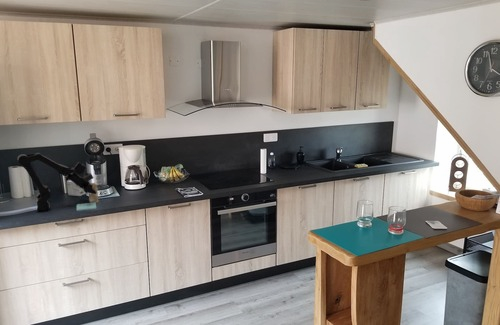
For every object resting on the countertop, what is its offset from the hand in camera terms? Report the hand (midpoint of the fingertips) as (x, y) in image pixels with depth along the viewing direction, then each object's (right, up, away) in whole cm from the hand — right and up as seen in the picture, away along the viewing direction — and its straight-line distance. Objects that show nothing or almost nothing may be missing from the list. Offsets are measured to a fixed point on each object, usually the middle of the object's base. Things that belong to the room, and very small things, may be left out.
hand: (95, 192), depth 269 cm
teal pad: (-2, -9, -10) cm, 14 cm away
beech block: (-1, -7, +1) cm, 7 cm away
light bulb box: (-21, -3, +18) cm, 28 cm away
